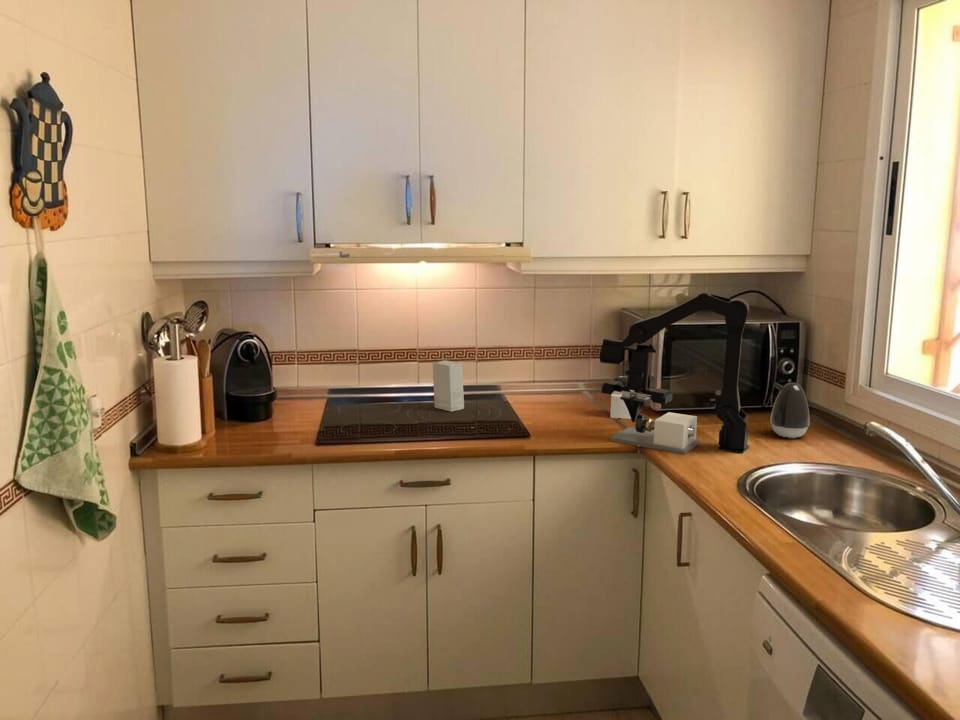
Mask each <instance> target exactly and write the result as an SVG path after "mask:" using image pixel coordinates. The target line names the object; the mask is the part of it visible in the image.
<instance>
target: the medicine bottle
mask: <svg viewBox="0 0 960 720" xmlns="http://www.w3.org/2000/svg"><path fill="white" fill-rule="evenodd" d="M613 380H614V381H619V382H622V384H623V386H624V385H626V382H627V376H616V377H615V378H614V379H613ZM630 391H632V390H630ZM620 397H622V392H617V391H614V392H613V393H612V394H610V413H609V415H610V419H618V418H621V420H632V419H631V417H630V414H629V411H628V409H627V407H626V405H625V403H624V401H623V400H621V399H620Z"/></svg>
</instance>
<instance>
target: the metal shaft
mask: <svg viewBox="0 0 960 720" xmlns="http://www.w3.org/2000/svg"><path fill="white" fill-rule="evenodd" d="M654 426H655V420H654V419H653V418H650V417H648V416H647V414H642V413H639V415H638V417H637V419H636V422H635V427H634V428H636V431H637V432H640V433H644V432H645V431H649V432H651V431H654ZM695 433H696V434H697V428H696V429H695V428H693V427H688V436H692V437H694V436H695Z"/></svg>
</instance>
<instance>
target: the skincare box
mask: <svg viewBox="0 0 960 720" xmlns="http://www.w3.org/2000/svg"><path fill="white" fill-rule="evenodd" d="M463 373H464V372H463V362H457V361H451V360H440V361H436V362H433V363H432V376H433V377H432V379H433V399H434V408H435V409H439V410H444V411H447V412H454V411H461V410H464V409H465V399H464V398H465V397H464V395H465V394H464V378H463V377H464V376H463Z"/></svg>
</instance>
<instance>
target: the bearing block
mask: <svg viewBox="0 0 960 720" xmlns="http://www.w3.org/2000/svg"><path fill="white" fill-rule="evenodd" d="M654 421H655V426H654V430H652V431H651V432H649V431H645V432H644V433H640V432H637V431H636V428H635V427H629V426H628V427H626V428H624V429H623V430H621V431H619V432H617V433H615V434H614V435H612V436H610V439H609V441H610V442H614V443H622V444H627V445H631V446H638V447H644V448H648V449H654V450H660V451H665V452H670V453H676V454H681V455H686V454H688V453H689V452H690V451H692V450H693V449H695V448H696V447H697V446H698V445H700V444H701V439H699V438H697V432H696V433H695V436H694V437H692V436H688V427H693V428H695V429H696V430H697V427H698V425H697V424H698V422H697V421H698V416H697V415H689V414H682V413H676V412H670V411H668V412H667V413H665V414H663V415H661V416H660V417H658V418H656V419H655V420H654Z"/></svg>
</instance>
